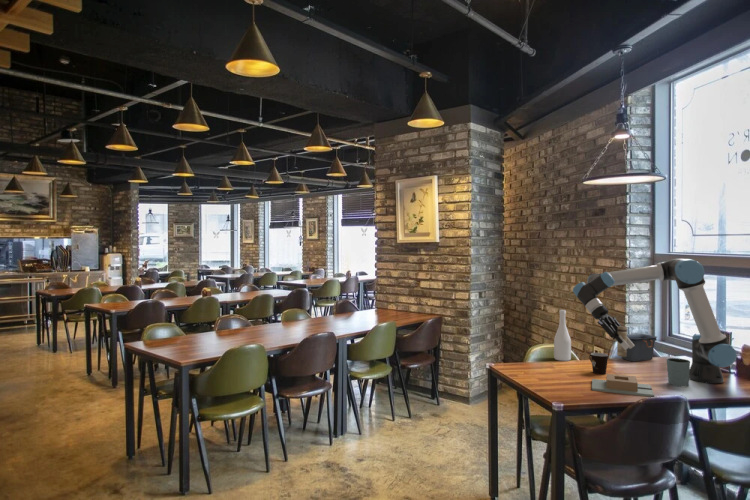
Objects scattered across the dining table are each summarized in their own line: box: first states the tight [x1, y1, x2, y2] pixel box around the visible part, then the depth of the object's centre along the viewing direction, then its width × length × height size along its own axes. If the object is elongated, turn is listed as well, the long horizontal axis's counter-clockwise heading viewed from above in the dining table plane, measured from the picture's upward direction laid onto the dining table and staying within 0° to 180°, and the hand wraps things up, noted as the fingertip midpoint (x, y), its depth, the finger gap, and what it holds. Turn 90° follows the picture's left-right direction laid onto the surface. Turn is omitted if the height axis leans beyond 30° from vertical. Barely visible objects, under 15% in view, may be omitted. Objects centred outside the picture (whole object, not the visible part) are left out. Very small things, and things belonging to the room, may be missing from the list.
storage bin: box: [621, 333, 658, 362], centre depth 299 cm, size 21×16×14 cm
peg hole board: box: [591, 373, 655, 398], centre depth 239 cm, size 26×18×5 cm
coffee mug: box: [588, 352, 609, 375], centre depth 270 cm, size 12×9×10 cm
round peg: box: [616, 325, 628, 358], centre depth 239 cm, size 4×4×14 cm
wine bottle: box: [553, 309, 572, 362], centre depth 300 cm, size 10×10×30 cm
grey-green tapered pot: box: [666, 357, 691, 387], centre depth 247 cm, size 10×10×12 cm
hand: (629, 347), depth 236 cm, fingers closed on round peg, 4 cm apart
